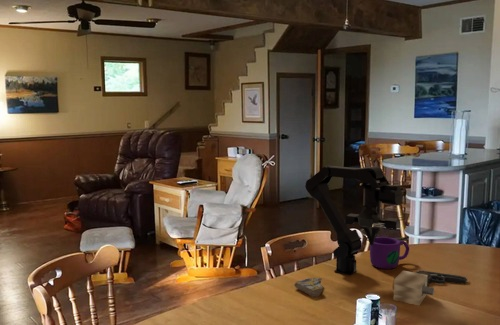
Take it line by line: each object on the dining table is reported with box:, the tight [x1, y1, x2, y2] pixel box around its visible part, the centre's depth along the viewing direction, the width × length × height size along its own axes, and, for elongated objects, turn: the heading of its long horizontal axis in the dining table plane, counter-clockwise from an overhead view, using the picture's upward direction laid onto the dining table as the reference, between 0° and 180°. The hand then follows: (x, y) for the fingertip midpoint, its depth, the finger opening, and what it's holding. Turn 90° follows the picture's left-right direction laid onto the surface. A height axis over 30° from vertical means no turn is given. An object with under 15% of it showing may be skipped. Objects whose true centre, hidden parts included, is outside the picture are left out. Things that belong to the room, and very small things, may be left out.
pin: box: [392, 276, 435, 296], centre depth 156 cm, size 12×4×4 cm, turn 57°
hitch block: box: [393, 270, 428, 306], centre depth 157 cm, size 8×10×7 cm
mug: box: [369, 236, 410, 270], centre depth 189 cm, size 17×11×10 cm, turn 111°
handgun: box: [415, 270, 468, 287], centre depth 169 cm, size 3×18×12 cm
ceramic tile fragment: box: [294, 277, 324, 298], centre depth 163 cm, size 12×3×10 cm
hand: (371, 244), depth 173 cm, fingers closed
